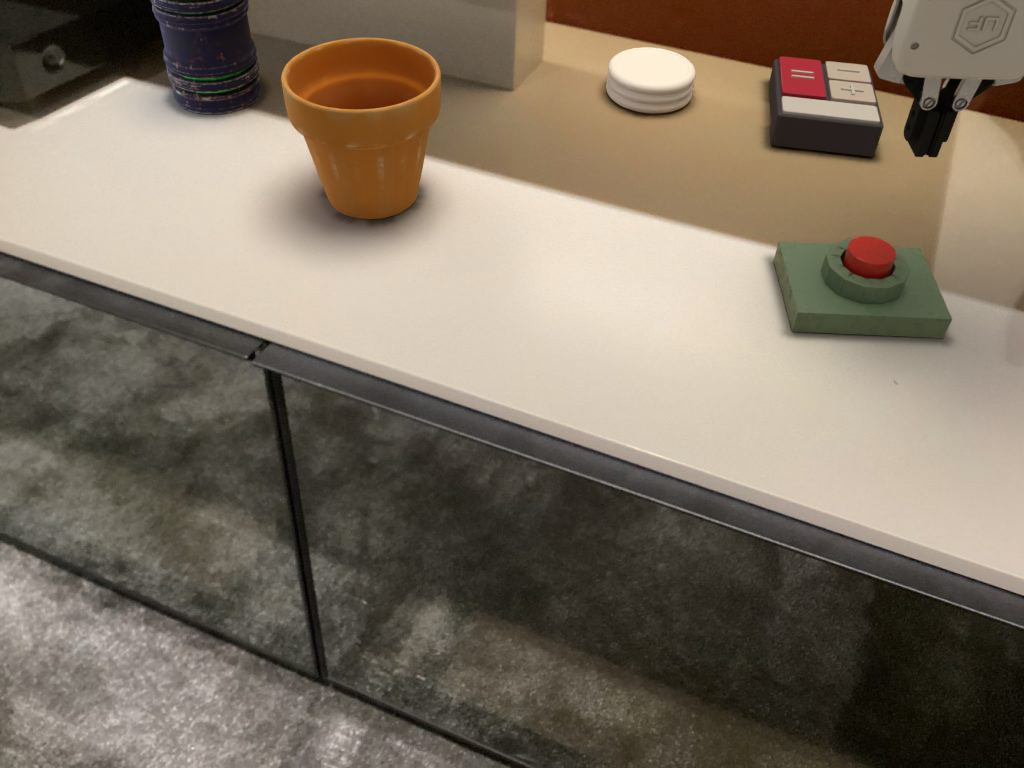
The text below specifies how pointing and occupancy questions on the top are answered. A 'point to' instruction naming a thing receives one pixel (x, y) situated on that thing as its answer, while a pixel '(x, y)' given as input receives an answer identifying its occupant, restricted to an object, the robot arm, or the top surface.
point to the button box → (859, 293)
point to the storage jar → (209, 54)
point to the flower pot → (365, 119)
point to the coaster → (650, 80)
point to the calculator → (824, 106)
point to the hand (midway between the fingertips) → (920, 147)
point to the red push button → (869, 257)
